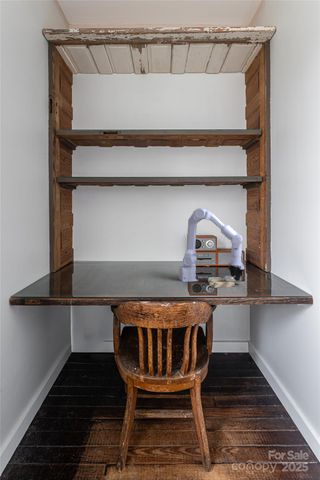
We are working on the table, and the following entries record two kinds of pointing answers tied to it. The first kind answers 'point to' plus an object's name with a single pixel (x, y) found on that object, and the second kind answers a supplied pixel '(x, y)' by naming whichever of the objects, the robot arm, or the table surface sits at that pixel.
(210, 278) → the v block
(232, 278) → the axle
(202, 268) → the table surface
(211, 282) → the parallel rails
